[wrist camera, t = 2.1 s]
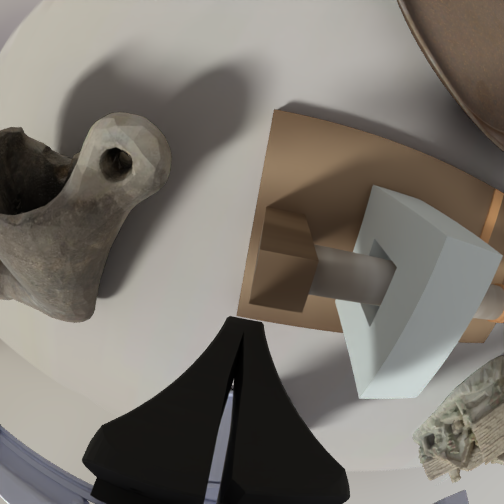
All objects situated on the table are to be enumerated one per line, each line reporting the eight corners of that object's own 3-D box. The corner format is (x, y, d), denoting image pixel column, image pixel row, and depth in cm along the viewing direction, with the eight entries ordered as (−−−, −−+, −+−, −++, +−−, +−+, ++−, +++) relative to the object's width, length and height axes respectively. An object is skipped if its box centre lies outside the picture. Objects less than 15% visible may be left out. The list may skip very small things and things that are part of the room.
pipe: (158, 220, 25) (158, 64, 12) (181, 310, 21) (188, 158, 8) (8, 255, 18) (-65, 137, 6) (8, 346, 15) (-115, 257, 2)
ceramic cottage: (517, 340, 18) (563, 443, 5) (499, 398, 23) (522, 473, 10) (402, 403, 23) (419, 525, 10) (414, 441, 29) (424, 521, 16)
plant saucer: (523, -2, 4) (541, -7, 1) (548, 173, 11) (571, 183, 8) (349, -82, 5) (357, -104, 3) (386, 131, 13) (409, 132, 10)
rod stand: (479, 336, 18) (508, 383, 12) (238, 306, 18) (222, 381, 12) (534, 214, 12) (583, 246, 7) (274, 111, 13) (272, 94, 7)
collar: (378, 308, 15) (416, 397, 9) (335, 301, 15) (359, 398, 9) (420, 199, 12) (502, 255, 6) (372, 184, 13) (447, 235, 6)
